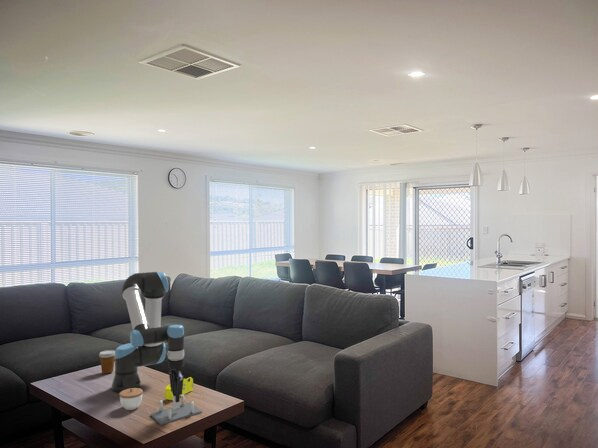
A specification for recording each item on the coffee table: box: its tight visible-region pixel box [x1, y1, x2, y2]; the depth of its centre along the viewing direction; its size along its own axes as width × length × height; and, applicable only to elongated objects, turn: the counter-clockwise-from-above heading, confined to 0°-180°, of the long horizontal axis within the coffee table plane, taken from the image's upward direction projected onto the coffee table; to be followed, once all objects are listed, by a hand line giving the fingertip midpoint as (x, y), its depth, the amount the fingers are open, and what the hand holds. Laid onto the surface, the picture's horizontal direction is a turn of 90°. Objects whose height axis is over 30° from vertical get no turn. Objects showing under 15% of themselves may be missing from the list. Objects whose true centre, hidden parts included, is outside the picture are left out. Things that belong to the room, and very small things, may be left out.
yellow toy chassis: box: [164, 376, 194, 401], centre depth 237 cm, size 16×6×8 cm, turn 153°
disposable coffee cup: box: [98, 349, 115, 374], centre depth 275 cm, size 10×10×12 cm
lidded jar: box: [119, 387, 144, 411], centre depth 222 cm, size 11×11×9 cm
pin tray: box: [150, 395, 203, 426], centre depth 213 cm, size 13×20×6 cm, turn 128°
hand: (176, 408), depth 213 cm, fingers closed
